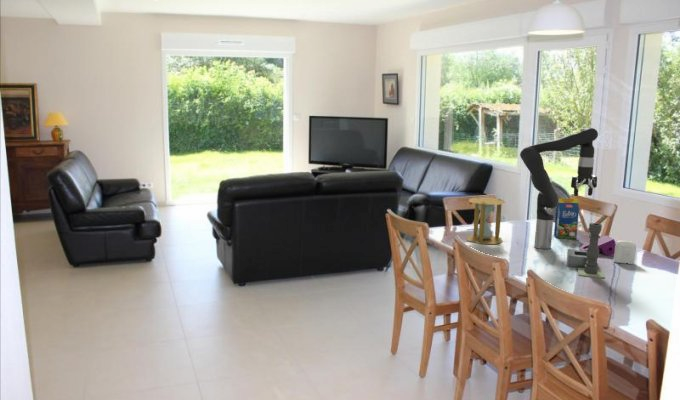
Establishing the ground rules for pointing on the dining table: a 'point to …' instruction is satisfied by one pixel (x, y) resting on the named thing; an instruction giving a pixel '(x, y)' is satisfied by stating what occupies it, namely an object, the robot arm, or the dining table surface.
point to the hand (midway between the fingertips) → (582, 195)
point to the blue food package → (566, 219)
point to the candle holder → (593, 249)
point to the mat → (599, 274)
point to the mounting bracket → (603, 245)
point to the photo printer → (625, 252)
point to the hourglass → (484, 232)
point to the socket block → (576, 258)
